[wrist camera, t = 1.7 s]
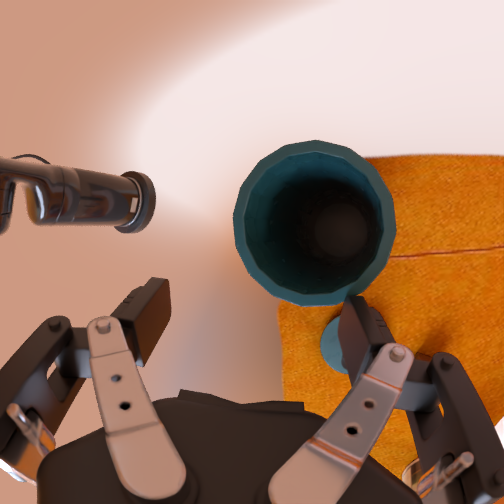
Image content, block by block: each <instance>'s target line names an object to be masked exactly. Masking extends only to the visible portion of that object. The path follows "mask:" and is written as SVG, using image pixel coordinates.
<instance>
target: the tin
mask: <svg viewBox="0 0 504 504" xmlns="http://www.w3.org/2000/svg"><path fill="white" fill-rule="evenodd" d="M233 226H234V236H235V245H236V249H237V251H238V253H239V255H240V257H241V259H242V261H243V263H244V265H245V267H246V269H247V271H248V273H249V274H250V276H252V277H253V279H255V280H256V281H257V282H258V283H259V284H260V285H261V286H262V287H263V288H264V289H265V290H267V291H268V292H269V293H270V294H271V295H273V296H274V297H277V298H279V299H282V300H285V301H287V302H290V303H293V304H295V305H298V306H301V307H302V306H303V307H314V306H333V305H337V304H339V303H341V302H343V301H344V300H345V297H346V296H347V295H352V296H356V295H358V294H360V293H362V292H364V290H366V289H367V288H368V286H369V285H370V284H371V283H372V282H373V281H374V280H375V278H376V277H377V276H378V275H379V274H380V272H381V271H382V270H383V269H384V268H385V266H386V264H387V262H388V259H389V256H390V253H391V250H392V246H393V243H394V239H395V236H396V231H397V230H396V220H395V211H394V203H393V198H392V195H391V193H390V192H389V190H388V188H387V186H386V185H385V183H384V181H383V179H382V178H381V176H380V174H379V173H378V171H377V169H376V168H375V167H374V166H373V165H372V164H370V163H369V162H368V161H366V160H365V159H364V158H362V157H361V156H360V155H358V154H357V153H356V152H354V151H353V150H351V149H350V148H347V147H345V146H341V145H337V144H332V143H329V142H324V141H319V140H312V141H306V142H299V143H294V144H288V145H285V146H283V147H281V148H279V149H278V150H276V151H275V152H273V153H272V154H270V155H268V156H267V157H265V158H263V159H262V160H260V161H259V162H258V163H257V165H256V166H255V168H254V169H253V170H252V172H251V173H250V174H249V176H248V177H247V179H246V180H245V181H244V182H243V184H242V186H241V187H240V191H239V194H238V198H237V202H236V205H235V209H234V213H233Z"/></svg>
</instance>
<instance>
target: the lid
mask: <svg viewBox="0 0 504 504" xmlns="http://www.w3.org/2000/svg"><path fill="white" fill-rule="evenodd" d="M340 316H341V315H339V316H337V317H335V318H334V319H333V320H332V321H331V322H330V323H329V324H328V325H327V326H326V328H325V330H324V332H323V334H322V337H321V343H320V347H321V353H322V356H323V358H324V360H325V361H326V362H327V364H328V365H329V366H330V367H332V368H333V369H334V370H336V371H338V372H341V373H344V374H348V371H347V367H346V363H345V360H344V356H343V353H342V349H341V346H340V342H339V339H338V324H339V320H340Z"/></svg>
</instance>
